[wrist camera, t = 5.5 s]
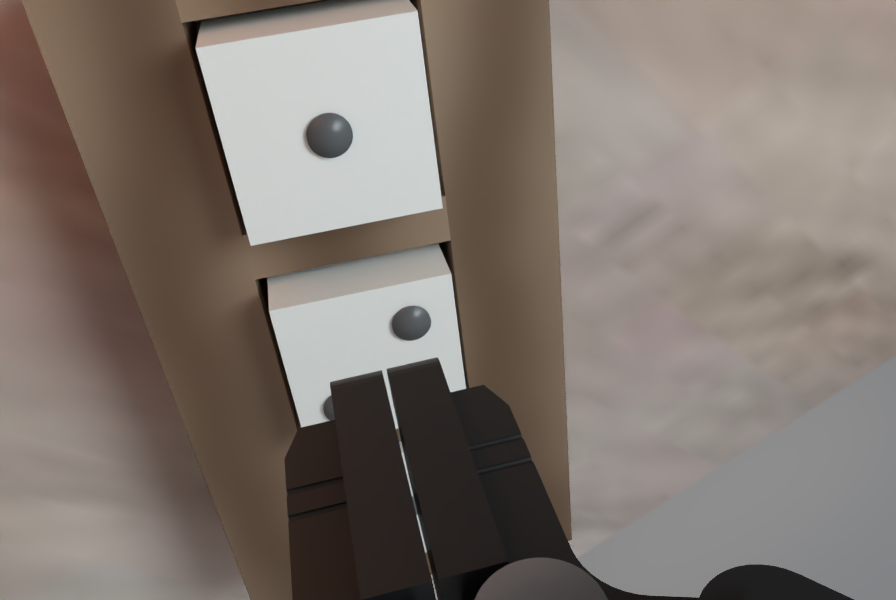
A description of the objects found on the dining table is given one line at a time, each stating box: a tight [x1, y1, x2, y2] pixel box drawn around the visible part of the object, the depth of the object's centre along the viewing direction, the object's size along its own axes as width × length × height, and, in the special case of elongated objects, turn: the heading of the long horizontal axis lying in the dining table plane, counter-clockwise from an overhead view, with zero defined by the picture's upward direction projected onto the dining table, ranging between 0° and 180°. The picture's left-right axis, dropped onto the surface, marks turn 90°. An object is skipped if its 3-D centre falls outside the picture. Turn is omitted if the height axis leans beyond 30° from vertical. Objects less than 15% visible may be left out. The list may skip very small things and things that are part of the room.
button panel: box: [21, 0, 572, 600], centre depth 26 cm, size 12×22×4 cm, turn 7°
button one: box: [195, 0, 443, 246], centre depth 21 cm, size 5×5×3 cm
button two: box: [267, 243, 466, 429], centre depth 24 cm, size 5×5×3 cm
